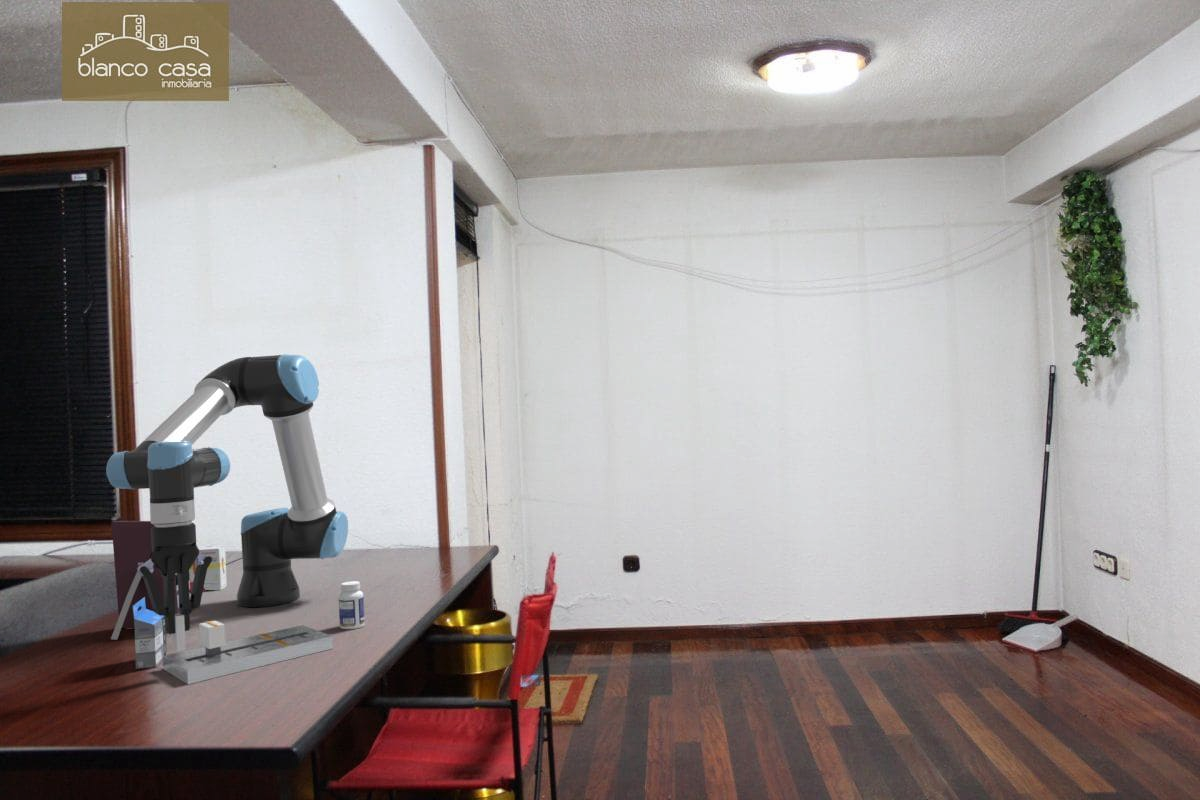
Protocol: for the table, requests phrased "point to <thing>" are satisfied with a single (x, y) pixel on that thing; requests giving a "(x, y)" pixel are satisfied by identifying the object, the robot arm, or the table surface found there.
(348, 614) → the pill bottle
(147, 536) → the picture frame
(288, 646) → the console
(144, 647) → the label tape cartridge
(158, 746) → the table surface
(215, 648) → the fader knob
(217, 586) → the ink box
